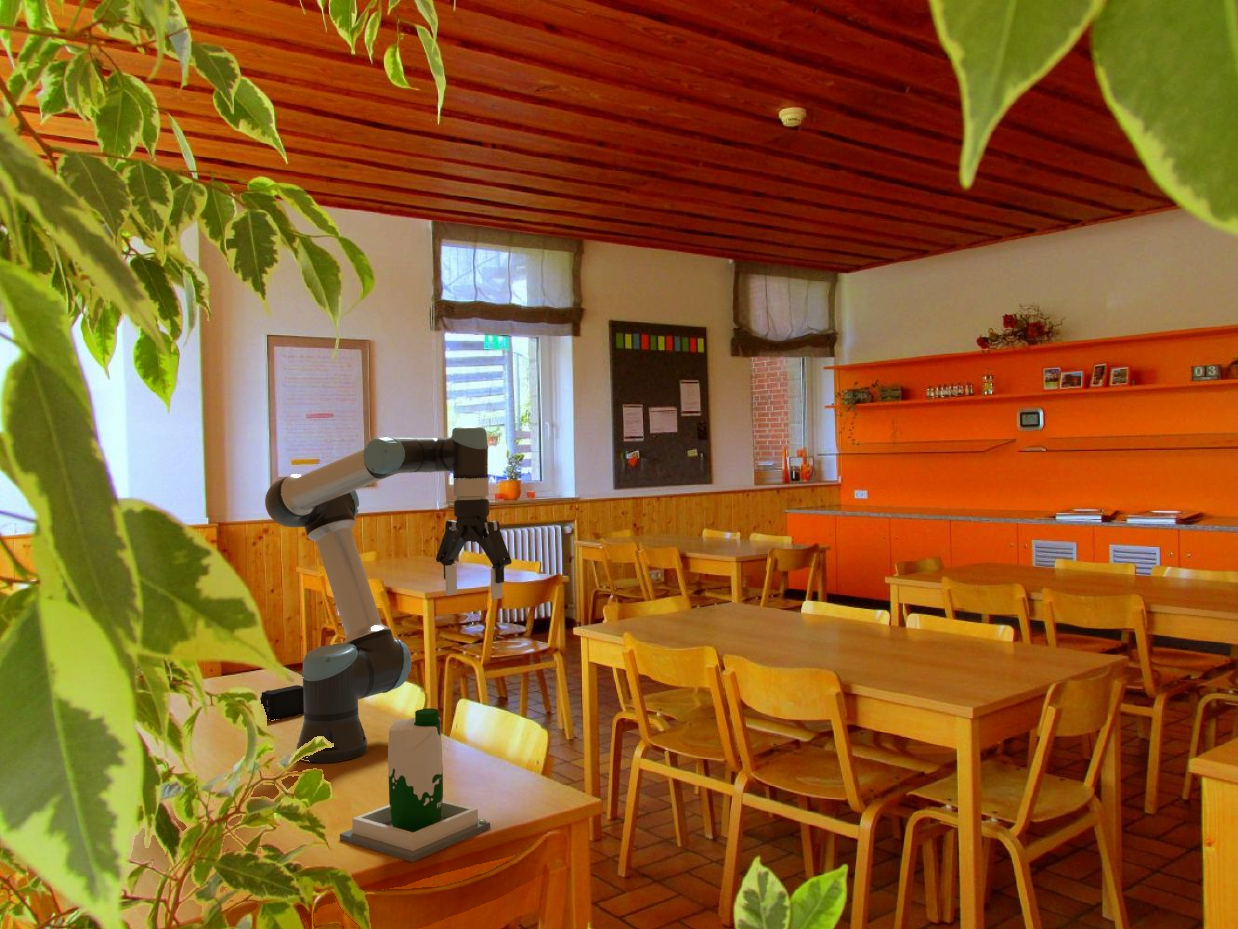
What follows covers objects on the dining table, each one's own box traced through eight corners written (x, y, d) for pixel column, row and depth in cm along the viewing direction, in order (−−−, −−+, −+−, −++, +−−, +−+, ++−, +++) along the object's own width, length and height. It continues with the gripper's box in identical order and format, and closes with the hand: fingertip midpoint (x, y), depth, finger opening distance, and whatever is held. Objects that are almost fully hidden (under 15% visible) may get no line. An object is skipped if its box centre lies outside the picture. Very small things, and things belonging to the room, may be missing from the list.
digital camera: (295, 710, 268) (294, 683, 268) (307, 713, 265) (306, 686, 265) (259, 718, 260) (258, 691, 260) (271, 721, 257) (270, 694, 257)
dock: (339, 839, 174) (339, 819, 174) (419, 809, 189) (418, 790, 189) (412, 862, 163) (412, 840, 163) (490, 827, 178) (489, 807, 178)
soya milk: (441, 835, 172) (438, 716, 172) (386, 838, 172) (383, 719, 171) (446, 817, 181) (443, 704, 181) (394, 820, 180) (391, 706, 180)
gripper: (526, 497, 217) (528, 597, 217) (443, 497, 231) (445, 591, 231) (502, 499, 211) (504, 602, 211) (418, 499, 225) (420, 595, 225)
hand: (473, 596), depth 221 cm, fingers open, 13 cm apart
